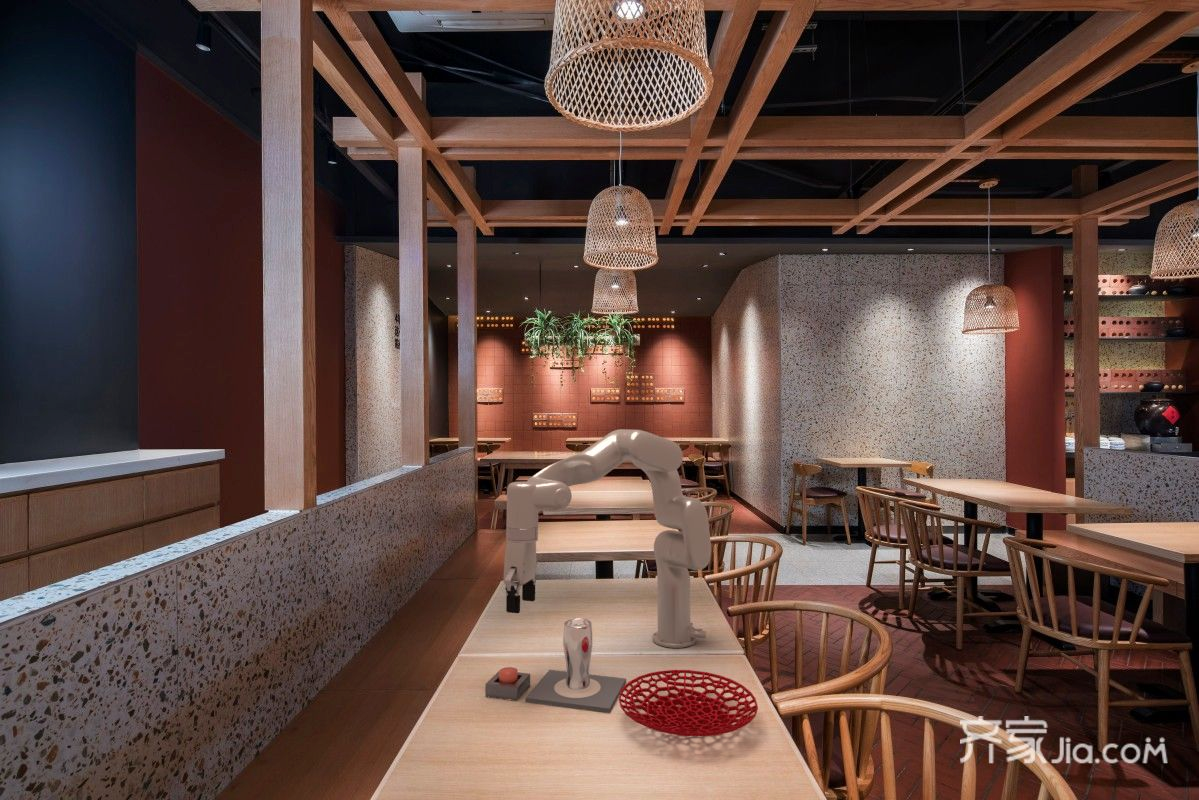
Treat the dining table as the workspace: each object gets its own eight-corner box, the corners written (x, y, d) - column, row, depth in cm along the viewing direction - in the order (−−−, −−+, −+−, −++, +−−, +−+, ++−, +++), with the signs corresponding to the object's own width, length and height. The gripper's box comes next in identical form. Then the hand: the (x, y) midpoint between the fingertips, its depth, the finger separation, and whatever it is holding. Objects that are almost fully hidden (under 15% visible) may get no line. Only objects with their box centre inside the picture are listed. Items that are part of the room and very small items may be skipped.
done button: (520, 680, 149) (520, 668, 149) (513, 688, 145) (513, 675, 145) (503, 678, 150) (503, 666, 151) (495, 686, 146) (495, 673, 146)
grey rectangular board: (626, 682, 152) (626, 677, 152) (609, 713, 137) (609, 707, 137) (549, 673, 158) (549, 668, 158) (525, 702, 142) (525, 696, 142)
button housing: (530, 686, 151) (530, 673, 151) (517, 700, 143) (517, 687, 143) (499, 682, 153) (499, 670, 153) (485, 696, 145) (485, 683, 145)
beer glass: (589, 694, 143) (588, 628, 144) (559, 691, 145) (559, 626, 145) (595, 681, 150) (595, 619, 151) (567, 679, 152) (567, 617, 152)
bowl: (667, 776, 113) (667, 748, 114) (595, 708, 140) (595, 685, 140) (788, 736, 127) (788, 711, 127) (701, 681, 153) (701, 660, 153)
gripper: (521, 527, 158) (520, 595, 157) (492, 539, 141) (491, 616, 140) (549, 528, 156) (548, 597, 155) (523, 541, 139) (522, 619, 138)
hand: (521, 606), depth 148 cm, fingers open, 9 cm apart
